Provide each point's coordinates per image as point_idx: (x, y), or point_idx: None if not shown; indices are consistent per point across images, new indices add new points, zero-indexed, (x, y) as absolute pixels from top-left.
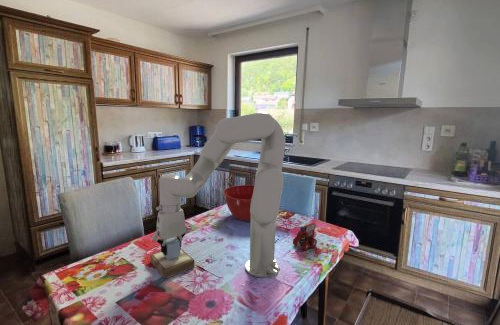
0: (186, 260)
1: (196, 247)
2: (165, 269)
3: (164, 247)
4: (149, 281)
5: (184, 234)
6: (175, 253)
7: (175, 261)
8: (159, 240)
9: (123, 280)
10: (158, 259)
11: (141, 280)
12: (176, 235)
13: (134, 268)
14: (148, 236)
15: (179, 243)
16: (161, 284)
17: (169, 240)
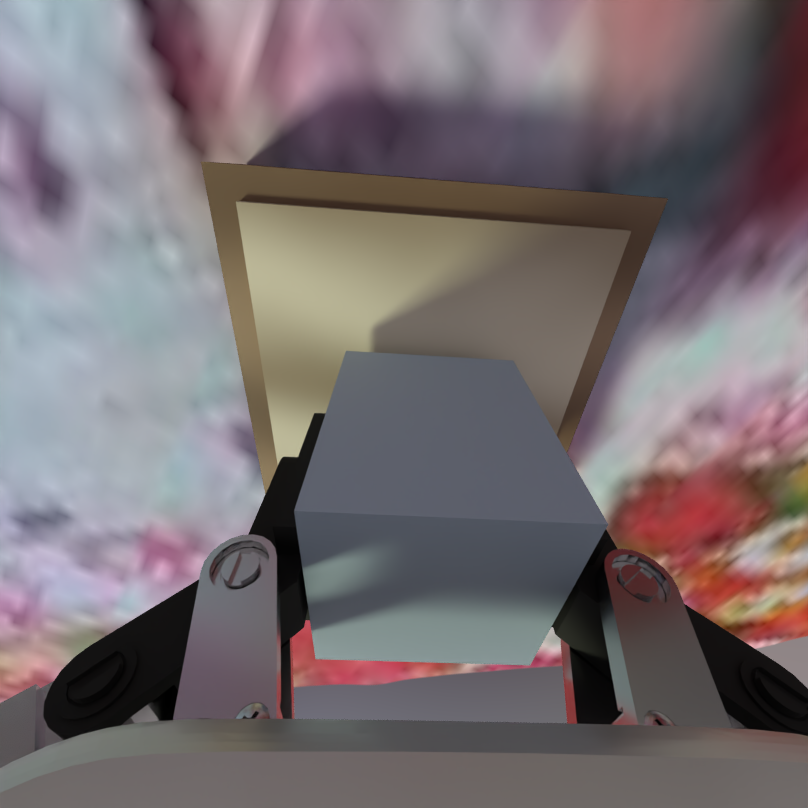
0: (314, 220)
1: (123, 464)
2: (633, 223)
3: None
4: (722, 257)
5: (87, 670)
6: (417, 382)
7: (442, 301)
8: (797, 724)
9: (793, 409)
10: None
11: (739, 322)
12: (394, 789)
13: (635, 486)
14: (371, 676)
15: (324, 478)
16: (713, 101)
17: (452, 625)
